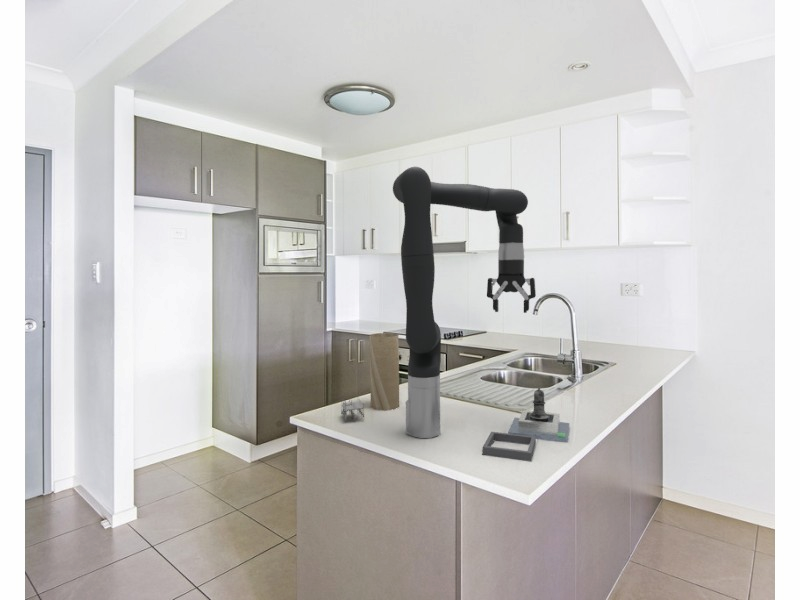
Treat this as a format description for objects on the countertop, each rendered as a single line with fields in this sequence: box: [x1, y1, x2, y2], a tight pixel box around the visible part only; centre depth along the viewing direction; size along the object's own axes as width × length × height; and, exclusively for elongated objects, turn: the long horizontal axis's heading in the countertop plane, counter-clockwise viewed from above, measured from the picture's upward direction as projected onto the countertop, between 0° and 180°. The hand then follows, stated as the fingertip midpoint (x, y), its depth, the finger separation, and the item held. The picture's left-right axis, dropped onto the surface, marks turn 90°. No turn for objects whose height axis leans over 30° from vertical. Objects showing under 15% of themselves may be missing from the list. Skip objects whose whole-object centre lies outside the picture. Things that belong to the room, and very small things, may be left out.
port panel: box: [507, 410, 570, 443], centre depth 136 cm, size 16×14×4 cm
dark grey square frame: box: [482, 431, 537, 462], centre depth 123 cm, size 12×12×2 cm
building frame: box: [340, 397, 365, 422], centre depth 150 cm, size 6×8×6 cm
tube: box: [369, 332, 400, 411], centre depth 162 cm, size 10×10×25 cm
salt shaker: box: [529, 386, 550, 422], centre depth 136 cm, size 6×6×12 cm
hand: (510, 312), depth 142 cm, fingers open, 8 cm apart
